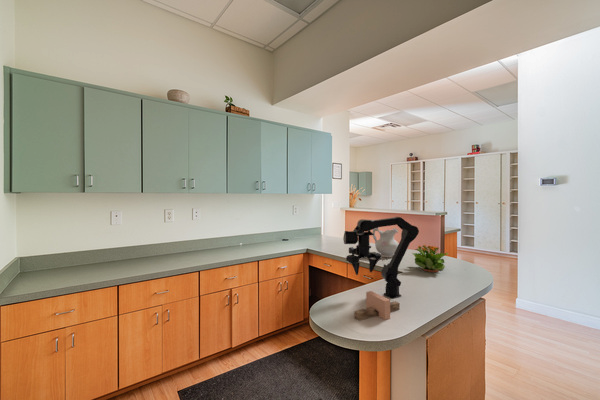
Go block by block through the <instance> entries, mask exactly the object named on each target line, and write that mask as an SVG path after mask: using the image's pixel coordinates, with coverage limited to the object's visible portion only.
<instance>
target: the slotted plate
mask: <svg viewBox="0 0 600 400" xmlns="http://www.w3.org/2000/svg"><path fill="white" fill-rule="evenodd" d="M365 301H366V302H365V304H366V305H365V307H366V308H370V307H372V308H374V309H375V310H376V311H378V312H379V315H378V317H379V318H381V319H383V320H388V319H391V312H390V302H391V299H389V298H387V297H385V296H383V295H381V294H379V293H377V292H374V291H371V290H369V291H366V293H365ZM366 308H365V309H366Z"/></svg>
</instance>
